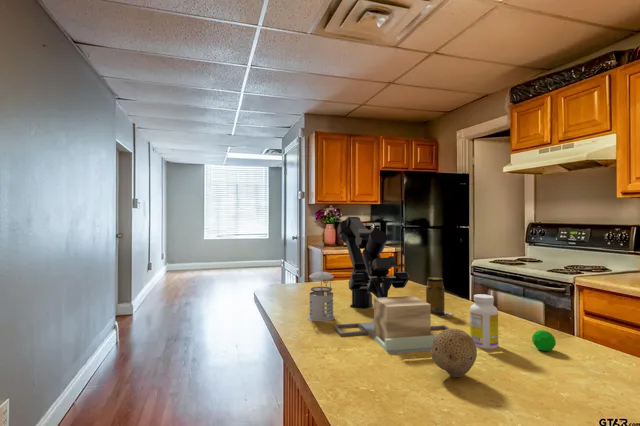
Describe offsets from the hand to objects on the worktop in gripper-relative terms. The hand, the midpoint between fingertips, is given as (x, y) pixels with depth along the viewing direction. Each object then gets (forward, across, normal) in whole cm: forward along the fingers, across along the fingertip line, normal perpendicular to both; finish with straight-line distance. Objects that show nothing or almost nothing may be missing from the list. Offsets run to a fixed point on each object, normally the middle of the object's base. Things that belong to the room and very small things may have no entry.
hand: (385, 304), depth 111 cm
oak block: (+13, 0, -4) cm, 13 cm away
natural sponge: (+29, +1, -20) cm, 36 cm away
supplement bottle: (+19, +19, -10) cm, 29 cm away
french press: (-4, -17, +14) cm, 23 cm away
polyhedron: (+23, +32, -14) cm, 42 cm away
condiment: (-2, +23, +12) cm, 26 cm away
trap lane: (+11, 0, -2) cm, 11 cm away
